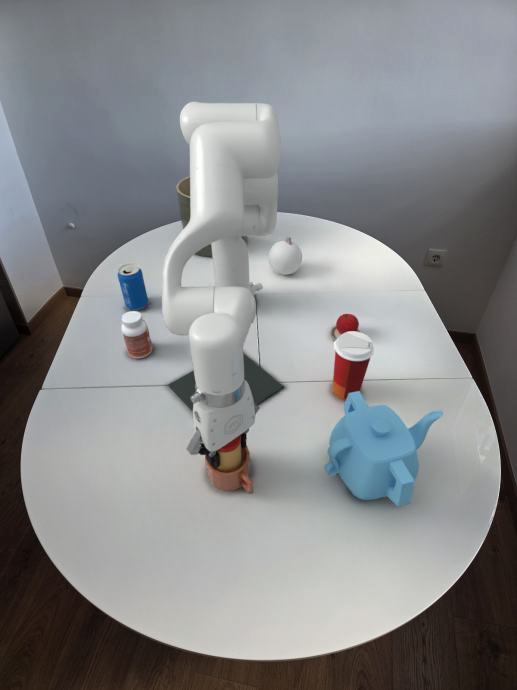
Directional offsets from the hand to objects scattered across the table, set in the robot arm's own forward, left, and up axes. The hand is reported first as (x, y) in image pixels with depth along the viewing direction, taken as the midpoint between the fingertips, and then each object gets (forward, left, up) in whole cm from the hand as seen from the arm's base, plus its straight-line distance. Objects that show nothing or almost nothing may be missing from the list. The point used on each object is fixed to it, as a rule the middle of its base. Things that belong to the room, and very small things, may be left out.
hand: (227, 451), depth 79 cm
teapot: (-22, +18, -7) cm, 29 cm away
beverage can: (-13, -60, -7) cm, 62 cm away
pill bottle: (-4, -42, -7) cm, 43 cm away
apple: (-48, -12, -7) cm, 50 cm away
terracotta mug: (0, +2, -7) cm, 7 cm away
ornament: (-57, -45, -7) cm, 73 cm away
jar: (0, 0, -6) cm, 6 cm away
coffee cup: (-33, +1, -7) cm, 34 cm away
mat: (-13, -18, -7) cm, 23 cm away
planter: (-52, -75, -7) cm, 92 cm away
